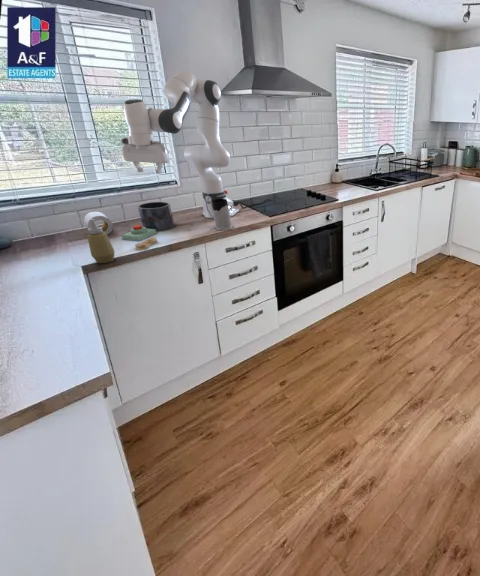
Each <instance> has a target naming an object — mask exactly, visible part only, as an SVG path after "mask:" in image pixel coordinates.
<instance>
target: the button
mask: <svg viewBox="0 0 480 576" xmlns="http://www.w3.org/2000/svg"><path fill="white" fill-rule="evenodd" d="M142 227H143V226H142V224H135V225H132V228H133V229H134V230H139V229H142Z"/></svg>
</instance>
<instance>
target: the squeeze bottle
mask: <svg viewBox="0 0 480 576" xmlns="http://www.w3.org/2000/svg"><path fill="white" fill-rule="evenodd" d="M90 225H91V228H89V229H88V228H87V231H88V233H87V235H86V237H87V241H88V246H89V251H90V255H91V257H92V258H93V259H94V261H95V262H96V263H97V264H107V263H111V262H113V261H114V260H115V249H114V247H113V244H112V243H111V240H110V238H109V236H108V235H107V234H106V233H105V232H103V230H102V227H101V226H98V224H97V221H94V219H91V220H90Z"/></svg>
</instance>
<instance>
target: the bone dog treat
mask: <svg viewBox="0 0 480 576" xmlns="http://www.w3.org/2000/svg"><path fill="white" fill-rule="evenodd" d="M156 243H158V240H157V237H155V236H152V237H150V238H147V239H145V240H143V241H141V242H138V243H135V244H134V248H135V249H136V250H137V251H142V250H146V249H148V247H149V246H152V245H154V244H156Z"/></svg>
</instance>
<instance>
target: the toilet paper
mask: <svg viewBox="0 0 480 576" xmlns="http://www.w3.org/2000/svg"><path fill="white" fill-rule="evenodd" d="M91 219H94V221H95V222H97V221H103V224H102V225H101V226H100V227H102V230H103V232H105V233H106V234H107V236H108V235H109V234H110V233H112V232H113V229H114V225H113V221H112V220H111V219H110V218H108V217H107V215H106V214H105V213H103V212H99V211H90V212H88V213H87V214H85V216H84V218H83V224H84V226H85V227H86V228H87V230H88V229H89V228H91V225H90V220H91Z"/></svg>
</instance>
